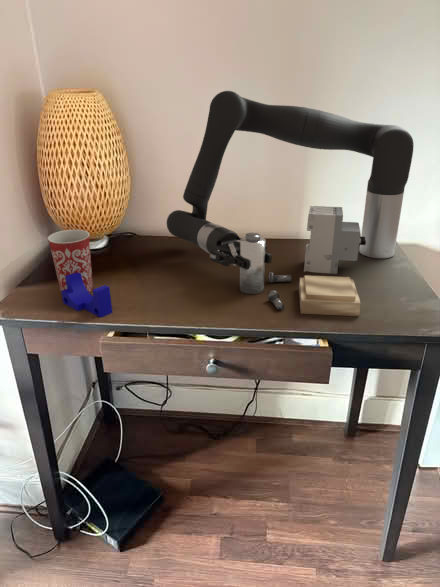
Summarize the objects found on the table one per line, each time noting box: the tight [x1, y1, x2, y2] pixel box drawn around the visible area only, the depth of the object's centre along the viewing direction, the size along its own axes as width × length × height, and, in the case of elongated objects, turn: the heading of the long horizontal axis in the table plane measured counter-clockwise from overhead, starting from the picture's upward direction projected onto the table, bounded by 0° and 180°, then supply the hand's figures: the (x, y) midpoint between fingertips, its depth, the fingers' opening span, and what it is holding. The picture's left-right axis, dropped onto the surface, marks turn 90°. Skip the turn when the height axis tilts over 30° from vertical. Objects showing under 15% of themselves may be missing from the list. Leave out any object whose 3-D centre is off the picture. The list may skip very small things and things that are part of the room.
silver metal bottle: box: [239, 232, 266, 295], centre depth 108 cm, size 6×6×13 cm
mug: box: [47, 229, 94, 294], centre depth 110 cm, size 13×9×14 cm
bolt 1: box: [268, 272, 293, 283], centre depth 114 cm, size 5×2×2 cm, turn 93°
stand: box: [298, 275, 362, 317], centre depth 104 cm, size 12×12×4 cm
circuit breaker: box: [303, 205, 366, 275], centre depth 119 cm, size 8×14×15 cm, turn 78°
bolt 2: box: [267, 289, 285, 311], centre depth 103 cm, size 5×2×2 cm, turn 13°
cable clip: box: [60, 273, 113, 318], centre depth 102 cm, size 12×4×6 cm, turn 48°
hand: (259, 262), depth 106 cm, fingers closed on silver metal bottle, 5 cm apart
